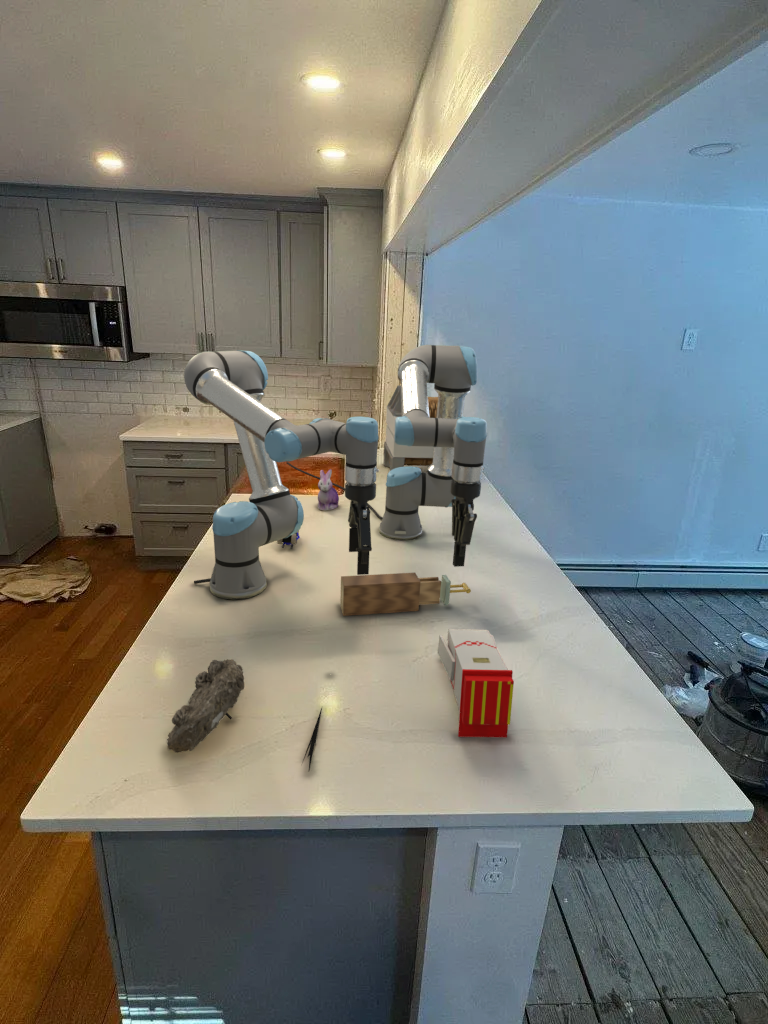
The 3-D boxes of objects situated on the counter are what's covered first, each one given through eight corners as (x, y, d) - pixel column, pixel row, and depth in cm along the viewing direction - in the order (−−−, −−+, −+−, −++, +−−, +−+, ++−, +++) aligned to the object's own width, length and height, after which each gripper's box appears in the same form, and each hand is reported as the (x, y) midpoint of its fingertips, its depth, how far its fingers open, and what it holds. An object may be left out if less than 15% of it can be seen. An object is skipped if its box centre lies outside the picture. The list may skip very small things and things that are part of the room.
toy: (488, 613, 130) (523, 677, 101) (484, 667, 133) (517, 744, 104) (435, 612, 130) (455, 676, 101) (432, 666, 133) (451, 743, 103)
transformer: (382, 463, 289) (386, 382, 275) (445, 464, 293) (451, 384, 279) (390, 482, 257) (394, 392, 243) (460, 483, 261) (468, 394, 247)
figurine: (321, 512, 217) (321, 474, 212) (311, 504, 225) (311, 467, 220) (344, 509, 221) (344, 472, 216) (333, 501, 229) (334, 465, 224)
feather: (331, 679, 122) (336, 673, 122) (307, 777, 96) (313, 769, 95) (324, 675, 122) (329, 669, 121) (298, 772, 95) (304, 764, 95)
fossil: (192, 660, 117) (244, 628, 112) (224, 691, 120) (276, 661, 115) (142, 746, 98) (202, 712, 93) (182, 779, 101) (242, 748, 96)
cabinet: (413, 601, 154) (415, 572, 152) (418, 610, 149) (420, 581, 147) (340, 605, 150) (340, 576, 147) (343, 616, 145) (343, 585, 142)
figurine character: (297, 555, 182) (302, 533, 196) (296, 534, 179) (302, 513, 192) (276, 554, 182) (283, 532, 195) (275, 534, 178) (282, 512, 192)
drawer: (464, 596, 157) (467, 573, 154) (469, 603, 153) (472, 580, 150) (375, 601, 151) (376, 578, 149) (379, 609, 148) (380, 585, 145)
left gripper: (386, 498, 126) (382, 583, 133) (366, 468, 149) (364, 542, 156) (353, 499, 125) (351, 585, 132) (338, 468, 147) (337, 543, 155)
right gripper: (490, 487, 137) (480, 575, 145) (471, 472, 149) (463, 554, 157) (460, 488, 136) (452, 577, 144) (444, 473, 148) (437, 555, 156)
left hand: (358, 562), depth 144 cm, fingers open, 13 cm apart
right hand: (458, 565), depth 150 cm, fingers closed
